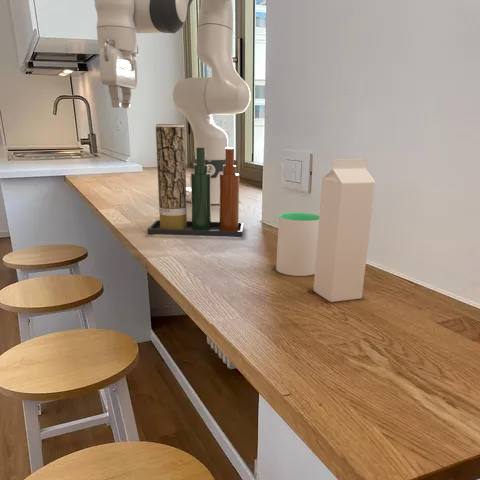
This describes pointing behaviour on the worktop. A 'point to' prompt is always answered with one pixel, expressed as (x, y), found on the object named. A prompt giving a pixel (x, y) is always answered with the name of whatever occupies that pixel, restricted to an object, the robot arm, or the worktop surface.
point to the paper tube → (171, 175)
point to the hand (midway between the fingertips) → (121, 107)
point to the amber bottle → (229, 195)
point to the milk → (343, 230)
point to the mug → (297, 243)
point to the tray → (188, 231)
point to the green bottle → (201, 193)
